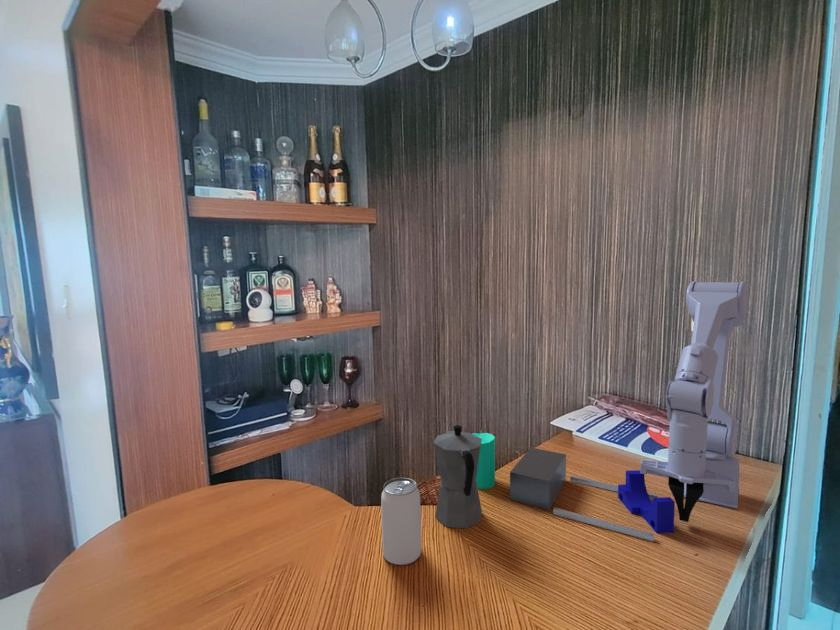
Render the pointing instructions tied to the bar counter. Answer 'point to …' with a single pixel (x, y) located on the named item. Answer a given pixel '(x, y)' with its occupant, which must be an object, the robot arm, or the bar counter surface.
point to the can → (401, 521)
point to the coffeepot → (458, 478)
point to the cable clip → (647, 503)
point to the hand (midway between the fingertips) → (683, 518)
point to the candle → (486, 461)
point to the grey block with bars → (557, 488)
